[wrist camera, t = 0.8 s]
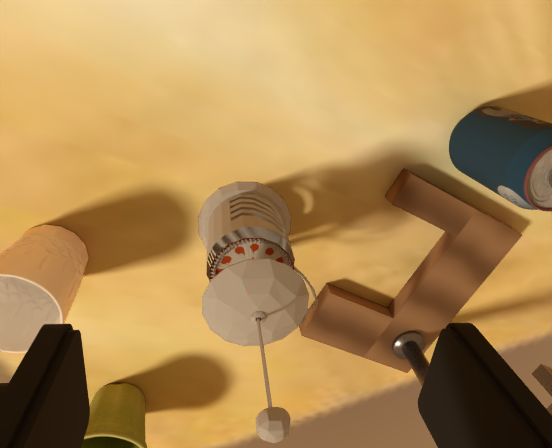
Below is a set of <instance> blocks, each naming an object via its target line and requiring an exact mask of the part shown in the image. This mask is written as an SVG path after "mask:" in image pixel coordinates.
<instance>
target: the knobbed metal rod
mask: <svg viewBox="0 0 552 448" xmlns="http://www.w3.org/2000/svg"><path fill="white" fill-rule="evenodd" d="M424 348H425V340H424V338H423V337H422V335H421V334H420V333H418V332H416V331H407V332H404V333H401V334H400V335H398V336H397V337H396V338H395V339H394V341H393V343H392V350H393V352H394V354H395V355H396V357H398V358H400V359H403V360H408V362H409V364H410V366H411V367H412V369H413V371H414V373H415V374H416V376H417V378H418V380H419V382H420V383H421V385H422V386H423V383H424V380H425V377H426V374H427V371H428V368H429V365H430V363H429V362H428V360H427V359H426V357H425V355H424V354H423V352H422V351H423V350H424ZM532 375H533V376H534V377H535V378H536V379H537V380H538V381H539V382H540V384H541V385H542V386H543V387H544V388H545V389H546V391H547V392H548V393H549V394H550V395H551V396H552V369H551V368H550V367H547V366H545V365H542V364H541V365H540V366H539V367H538V368H537V369H536V370H535V371H534V372H533V373H532ZM547 411H548V412H549V413H550V414H551V415H552V404H551V405H550V406H549V407H548V408H547Z"/></svg>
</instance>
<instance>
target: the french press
mask: <svg viewBox="0 0 552 448" xmlns="http://www.w3.org/2000/svg"><path fill="white" fill-rule="evenodd" d="M290 224H291V215H290V213H289V210H288V207H287V205H286V202H285V201H284V200H283V199H282V198H281V197H280V196H279V195H278V194H277V192H276V191H275V190H274V189H272V188H269V187H267V186H264V185H262V184H260V183H257V182H235V183H232V184H230V185H227V186H224V187H222V188H219V189H218V190H217V191H216V192H214V193H213V194H212V195H211V196H210V197H209V198H208V199H207V200H206V201H205V203H204V205H203V207H202V209H201V212H200V214H199V216H198V231H199V236H200V238H201V240H202V242H203V244H204V246H205V248H206V249H207V260H209V263H210V265H211V267H210V266H209V264H208V261H207V276H208V278H209V280H210V283H209V285H208V287H207V289H206V291H205V293H204V294H203V296H202V315H203V317H204V318H205V320H206V322H207V324H208V326H209V328H210V330H212V331H213V332H214V333H216V334H217V335H218V336H220V337H221V338H222V339H224V340H225V341H228V342H232V343H235V344H238V345H242V346H259V345H260V348H261V356H262V363H263V370H264V378H265V385H266V392H267V400H268V407H269V408H267V409H264V410H263V411H261V412H260V413H259V414H258V415H257V417H256V429H257V433H258V434H259V436H260V437H261V438H262V440H265V441H268V442H273V443H276V442H278V441H281V440H283V439H284V438H285V437H286V436H287V435H288V434H289V428H290V415H289V414H288V412H287V411H286V410H285V409H283V408H280V407H272V402H271V395H270V388H269V381H268V374H267V367H266V360H265V353H264V346H263V345H266V344H269V343H272V342H275V341H278V340H281V339H283V338H284V337H286V336H287V335H288V334H290V333H291V332H292V331H293V330H295V329H296V328H297V327H298V326H299V325H301V324H303V323H304V322H305V320H306V316H307V314H306V313H307V311H308V312H312V311H314V310H316V308H317V306H318V299H317V296H316V294H315V291H314V289H313V287H312V286H311V284H310V283H309V281H308V280H307V278H306V277H305V276H304V275H303V274H302V273H301V272H300V271H299V270H298V269H297V268H296V267H295V266H294V261H295V259H294V256H293V252H292V249H291V245H290V243H289V239H288V235H289V234H290ZM210 252H211V254H212V256H213V258H214V260H213V259H212V256H211V254H210ZM208 255H210V258H211V260H212V263H211V261H210V258H209V256H208ZM294 270H295V271H296V272H297V273H298V274H297V273H296V272H295V271H294ZM303 279H304V280H305V282H306V283H307V284H308V286H309V287H310V289H311V291H312V293H313V296H314V298H315V305H314V307H313V308H311V309H307V307H308V300H309V293H308V291H307V288H306V285H305V283H304V280H303Z"/></svg>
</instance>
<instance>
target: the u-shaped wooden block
mask: <svg viewBox="0 0 552 448" xmlns="http://www.w3.org/2000/svg"><path fill="white" fill-rule="evenodd" d="M385 197H386V198H387V199H388V200H389V201H390V202H391V203H392V204H393V205H395V206H397V207H399V208H401V209H403V210H405V211H407V212H409V213H411V214H413V215H415V216H417V217H419V218H421V219H423V220H425V221H427V222H429V223H431V224H432V225H434V226H436V227H438V228H440V229H442V230H444V231H445V233H444V234H443V235H442V237H441V238H440V239H439V241H438V242H437V243H436V245H435V246H434V247H433V249H432V250H431V251H430V253H429V254H428V255H427V257H426V258H425V259H424V261H423V262H422V263H421V265H420V266H419V267H418V268H417V270H416V271H415V272H414V274H413V275H412V276H411V278H410V279H409V280H408V282H407V283H406V284H405V286H404V287H403V288H402V290H401V291H400V292H399V294H398V295H397V296H396V298H395V299H394V300H393V302H392V303H391V304H390V306H389V307H388V308H386V307H384V306H381V305H379V304H376V303H374V302H371V301H369V300H366V299H364V298H362V297H359V296H357V295H354V294H352V293H349V292H347V291H344V290H342V289H339V288H337V287H335V286H332V285H330V284H327V283H326V285H325V286H324V288H323V289H322V291H321V292H320V293H319V295H318V296H317V299H318V306H317V308H316V310H314V311H312V312H308V311H307V313H306V314H307V316H306V320H305V322H304V323H303V324H301V325H299V328H300V331H301V335H302V336H304V337H307V338H310V339H313V340H315V341H318V342H321V343H324V344H327V345H330V346H332V347H335V348H338V349H341V350H344V351H347V352H349V353H352V354H355V355H358V356H361V357H364V358H366V359H369V360H372V361H375V362H378V363H381V364H383V365H386V366H389V367H392V368H395V369H398V370H400V371H403V372H406V373H408V372H409V371H410V369H411V368H412V367H411V366H410V364H409V362H408V360H403V359H400V358H398V357H396V355H395V354H394V352H393V350H392V343H393V341H394V339H395V338H396V337H397V336H398V335H400V334H401V333H404V332H407V331H416V332H418V333H420V334H421V335H422V337H423V338H424V340H425V348H424V350H423V351H422V352H423V354H424V353H425V351H426V350H427V349H428V348H429V347H430V345H431V344H432V343H433V342H434V341H435V339H436V338H437V337H438V336H439V335H440V332H441V330H442V329H444V328H445V327H446V326H447V325H448V324H449V323H450V321H451V320H452V319H453V318H454V317H455V315H456V314H457V313H458V312H459V311H460V309H461V308H462V307H463V306H464V305H465V303H466V302H467V301H468V300H469V299H470V297H471V296H472V295H473V294H474V293H475V291H476V290H477V289H478V288H479V287H480V285H481V284H482V283H483V282H484V281H485V279H486V278H487V277H488V276H489V275H490V273H491V272H492V271H493V270H494V269H495V267H496V266H497V265H498V264H499V263H500V261H501V260H502V259H503V258H504V257H505V255H506V254H507V253H508V252H509V251H510V249H511V248H512V247H513V246H514V245H515V243H516V242H517V241H518V240H519V239H520V237H521V236H522V234H520V233H519V232H517V231H516V230H515V229H513V228H512V227H510V226H508V225H506V224H505V223H503V222H501V221H499V220H497V219H495V218H494V217H492V216H490V215H488V214H486V213H485V212H483V211H481V210H479V209H477V208H475V207H474V206H472V205H470V204H468V203H466V202H465V201H463V200H461V199H459V198H457V197H455V196H454V195H452V194H450V193H448V192H446V191H444V190H443V189H441V188H439V187H437V186H435V185H434V184H432V183H430V182H428V181H426V180H424V179H423V178H421V177H419V176H417V175H415V174H414V173H412V172H410V171H408V170H406V169H403V170H402V172H401V173H400V175H399V176H398V178H397V179H396V181H395V182H394V184H393V185H392V187H391V188H390V190H389V191H388V193H387V194H386V195H385ZM314 305H315V301H314V302H313V304H312V305H311V307H310V308H309V309H311V308H313V307H314Z"/></svg>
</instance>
